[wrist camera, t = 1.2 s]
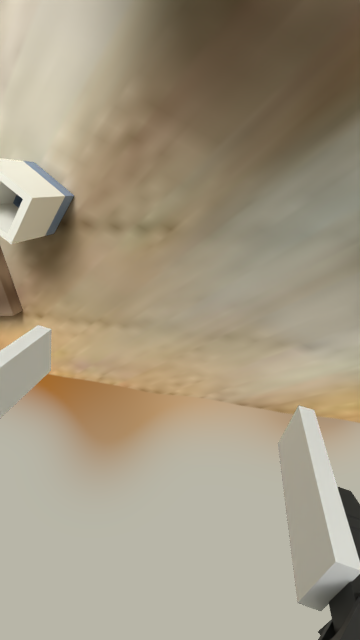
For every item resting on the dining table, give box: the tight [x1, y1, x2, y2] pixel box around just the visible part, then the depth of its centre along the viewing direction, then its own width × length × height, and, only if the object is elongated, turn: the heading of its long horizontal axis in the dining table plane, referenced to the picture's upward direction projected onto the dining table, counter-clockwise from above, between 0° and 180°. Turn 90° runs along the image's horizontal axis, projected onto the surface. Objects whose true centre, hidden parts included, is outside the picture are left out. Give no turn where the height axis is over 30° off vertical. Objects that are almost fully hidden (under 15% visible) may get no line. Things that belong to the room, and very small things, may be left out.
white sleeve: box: [0, 158, 74, 244], centre depth 34 cm, size 6×6×8 cm
